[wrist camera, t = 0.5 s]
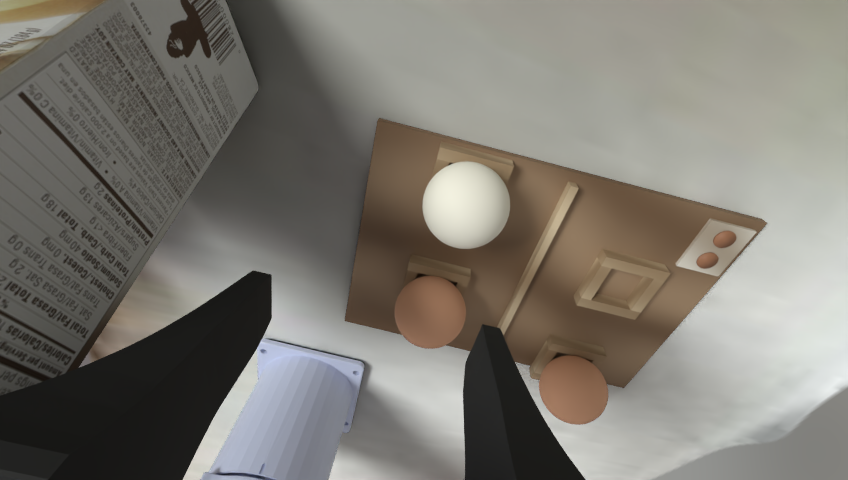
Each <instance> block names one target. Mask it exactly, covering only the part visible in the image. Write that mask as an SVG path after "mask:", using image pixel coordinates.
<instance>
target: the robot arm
mask: <svg viewBox="0 0 848 480" xmlns="http://www.w3.org/2000/svg"><path fill="white" fill-rule="evenodd" d="M271 318H272V291H271V275H270V274H266V273H261V272H257V271H252V272H250V273H249V274H247V275H246V276H244V277H243V278H241V279H240V280H238V281H237V282H236V283H234V284H233V285H231V286H230V287H228V288H227V289H225V290H224V291H222V292H221V293H219V294H218V295H217V296H215V297H213V298H212V299H210V300H209V301H207V302H206V303H204V304H203V305H201V306H200V307H198V308H197V309H195V310H193V311H192V312H190V313H188V314H187V315H185V316H183V317H182V318H180V319H178V320H177V321H175V322H173V323H172V324H170V325H168V326H166V327H165V328H163V329H161V330H159V331H157V332H156V333H154V334H152V335H150V336H148V337H146V338H144V339H142V340H140V341H138V342H136V343H134V344H132V345H130V346H128V347H126V348H124V349H122V350H119V351H117V352H115V353H113V354H110V355H108V356H106V357H104V358H101V359H99V360H97V361H94V362H92V363H90V364H87V365H85V366H83V367H80V368H77V369H75V370H72V371H70V372H67V373H65V374H62V375H59V376H57V377H54V378H51V379H48V380H46V381H43V382H40V383H37V384H34V385H31V386H28V387H26V388H23V389H19V390H16V391H13V392H10V393H7V394H4V395H0V480H183V478H184V475H185V473H186V471H187V469H188V467H189V465H190V463H191V461H192V459H193V457H194V455H195V453H196V451H197V449H198V447H199V445H200V443H201V441H202V439H203V437H204V435H205V433H206V431H207V429H208V427H209V425H210V423H211V422H212V420H213V418H214V416H215V414H216V413H217V411H218V409H219V407H220V406H221V404H222V403H223V401H224V399H225V398H226V396H227V395H228V393H229V392H230V390H231V388H232V387H233V385H234V384H235V382H236V381H237V379H238V377H239V376H240V374H241V373H242V371H243V370H244V368H245V367H246V365H247V363H248V362H249V360H250V359H251V357H252V355H253V354H254V352H255V351H256V349H257V355H258V381H257V383H256V385H255V387H254V389H253V391H252V393H251V394H250V396H249V398H248V400H247V402H246V404H245V406H244V407H243V409H242V411H241V413H240V415H239V417H238V419H237V420H236V422H235V424H234V426H233V428H232V430H231V432H230V433H229V435H228V437H227V439H226V441H225V443H224V445H223V446H222V448H221V450H220V452H219V454H218V456H217V458H216V459H215V461H214V463H213V465H212V467H211V469H210V471H209V472H205V473H204V474H203V476H202V477H201V479H200V480H328V479H329V476H330V472H331V469H332V466H333V462H334V459H335V455H336V452H337V448H338V445H339V441H340V438H341V434H342V432H343V433H348V432H349V431H350V429H351V425H352V420H353V416H354V411H355V407H356V403H357V398H358V394H359V389H360V385H361V381H362V376H363V372H364V367H365V365H364V364H363V363H362V362H360V361H357V360H353V359H349V358H344V357H340V356H336V355H332V354H327V353H323V352H319V351H315V350H311V349H306V348H302V347H298V346H294V345H289V344H285V343H281V342H277V341H273V340H268V339H262V338H263V336H264V334H265V331H266V329H267V327H268V325H269V323H270V321H271ZM463 404H464V435H465V480H585V478H584V477H583V476H582V474H581V473H580V472H579V470H578V469H577V468H576V466H575V465H574V464H573V462H572V461H571V460H570V458H569V457H568V456H567V454H566V453H565V451H564V450H563V448H562V447H561V445H560V444H559V442H558V441H557V439H556V438H555V436H554V435H553V433H552V432H551V430H550V428H549V427H548V425H547V423H546V422H545V420H544V418H543V417H542V415H541V413H540V411H539V410H538V408H537V406H536V404H535V402H534V400H533V399H532V397H531V395H530V393H529V391H528V389H527V387H526V385H525V383H524V381H523V379H522V377H521V375H520V373H519V370H518V368H517V366H516V364H515V362H514V359H513V357H512V355H511V352H510V350H509V348H508V345H507V343H506V340H505V338H504V335H503V333H502V331H501V329H500V328H497V327H493V326H489V325H484V324H482V326H481V328H480V331H479V333H478V335H477V338H476V340H475V342H474V345H473V347H472V349H471V352H470V354H469V356H468V359H467V361H466V365H465V376H464V388H463Z"/></svg>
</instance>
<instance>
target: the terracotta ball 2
mask: <svg viewBox="0 0 848 480" xmlns="http://www.w3.org/2000/svg"><path fill="white" fill-rule="evenodd" d="M539 390H540V395H541V398H542V401H543V403H544V404H545V406H546V408H547V409H548V410H549V411H550V412H551V413H552V414H553V415H554V416H555V417H557V418H558V419H560V420H562V421H564V422H567V423H570V424H586V423H589V422H591V421H593V420H595V419H596V418H598V417H599V416H600V415H601V414H602V412H603V411H604V409H605V407H606V405H607V401H608V388H607V384H606V381H605V379H604V377H603V375H602V373H601V372H600V371H599V369H598V368H597V367H596V366H595V365H594V364H592V363H591V362H589V361H588V360H586V359H584V358H581V357H578V356H572V355H566V356H561V357H558V358H555V359H553V360H552V361H551V362H549V363H548V364H547V365H546V367H545V368H544V369H543V371H542V373H541V376H540V381H539Z"/></svg>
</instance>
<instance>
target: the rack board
mask: <svg viewBox="0 0 848 480" xmlns="http://www.w3.org/2000/svg"><path fill="white" fill-rule="evenodd" d="M466 161H468V162H476V163H480V164H483V165H485V166H487V167H489V168H490V169H492V170H493V171H494V172H496V173H497V174H498V175H499V176H500V178H501V179H502V180H503V182H504V183H505V185H506V188H507V190H508V193H509V197H510V212H509V217H508V220H507V222H506V224H505V226H504V228H503V229H502V231H501V232H500V233H499V235H498V236H497V237H495V238H494V239H493V240H492V241H490V242H489V243H487V244H485V245H483V246H480V247H477V248H472V249H460V248H455V247H451V246H449V245H447V244H445V243H443V242H441V241H440V240H439V239H438V238H437V237H435V236H434V235H433V233H432V232H431V231H430V229H429V228H428V226H427V224H426V222H425V219H424V215H423V208H422V206H423V196H424V193H425V190H426V187H427V185H428V183H429V182H430V180H431V179H432V178H433V177H434V176H435V174H436V173H438V172H439V171H440V170H441V169H443V168H445V167H446V166H449V165H451V164H454V163H457V162H466ZM766 224H767V223H766V222H765V221H764V220H762V219H759V218H756V217H752V216H748V215H744V214H740V213H737V212H733V211H729V210H725V209H721V208H718V207H714V206H710V205H706V204H703V203H699V202H695V201H691V200H687V199H684V198H680V197H676V196H672V195H668V194H665V193H661V192H657V191H653V190H650V189H646V188H642V187H638V186H634V185H631V184H627V183H623V182H619V181H615V180H612V179H608V178H604V177H600V176H597V175H593V174H589V173H585V172H581V171H578V170H574V169H570V168H566V167H562V166H559V165H555V164H551V163H547V162H544V161H540V160H536V159H532V158H528V157H525V156H521V155H517V154H513V153H509V152H506V151H502V150H498V149H494V148H491V147H487V146H483V145H479V144H475V143H472V142H468V141H464V140H460V139H456V138H453V137H449V136H445V135H441V134H438V133H434V132H430V131H426V130H422V129H419V128H415V127H411V126H407V125H403V124H400V123H396V122H392V121H388V120H385V119H381V118H379V119H378V121H377V127H376V133H375V139H374V145H373V151H372V158H371V164H370V170H369V176H368V182H367V188H366V194H365V200H364V206H363V212H362V219H361V225H360V231H359V237H358V243H357V249H356V255H355V261H354V267H353V273H352V280H351V286H350V292H349V298H348V304H347V310H346V316H345V321H348V322H352V323H356V324H360V325H364V326H368V327H372V328H377V329H381V330H385V331H389V332H393V333H397V334H401V332H400V331H399V329H398V327H397V324H396V320H395V303H396V300H397V298H398V296H399V294H400V292H401V291H402V289H403V288H404V287H405V286H406V285H407V284H408V283H410V282H411V281H413V280H415V279H417V278H420V277H423V276H437V277H441V278H444V279H446V280H448V281H449V282H451V283H452V284H453V285H454V286H455V287H456V288H457V289H458V290H459V291H460V293H461V295H462V297H463V299H464V302H465V306H466V318H465V322H464V326H463V328H462V330H461V332H460V333H459V334H458V336H457V337H456V338H455V339H454V340H453V341H451V342H450V343H449V344H447V346H451V347H455V348H460V349H464V350H468V351H471V349H472V347H473V345H474V342H475V340H476V338H477V335H478V333H479V331H480V328H481V326H482V324H484V325H489V326H493V327H497V328H500V329H501V331H502V333H503V335H504V338H505V340H506V343H507V345H508V348H509V350H510V352H511V355H512V357H513V359H514V362H518V363H522V364H526V365H530V368H529V370H530V376H531V378H533V379H537V380H540V376H541V373H542V371H543V369H544V368H545V367H546V365H547V364H548V363H549V362H551V361H552V360H553V359H555V358H558V357H561V356H566V355H572V356H578V357H581V358H584V359H586V360H588V361H589V362H591V363H592V364H594V365H595V366H596V367H597V368H598V369H599V371H600V372H601V373H602V375H603V377H604V379H605V381H606V384H609V385H613V386H617V387H622V388H624V387H625V386H626V385H627V384H628V383H629V382H630V380H631V379H632V378H633V377H634V376H635V375H636V374H637V372H638V371H639V370H640V369H641V368H642V367H643V365H644V364H645V363H646V362H647V361H648V360H649V359H650V357H651V356H652V355H653V354H654V353H655V352H656V351H657V349H658V348H659V347H660V346H661V345H662V344H663V342H664V341H665V340H666V339H667V338H668V337H669V336H670V334H671V333H672V332H673V331H674V330H675V329H676V328H677V326H678V325H679V324H680V323H681V322H682V321H683V319H684V318H685V317H686V316H687V315H688V314H689V313H690V311H691V310H692V309H693V308H694V307H695V306H696V304H697V303H698V302H699V301H700V300H701V299H702V298H703V296H704V295H705V294H706V293H707V292H708V291H709V290H710V288H711V287H712V286H713V285H714V284H715V283H716V281H717V280H718V279H719V278H720V277H721V276H722V275H723V273H724V272H725V271H726V270H727V269H728V268H729V267H730V265H731V264H732V263H733V262H734V261H735V260H736V258H737V257H738V256H739V255H740V254H741V253H742V252H743V250H744V249H745V248H746V247H747V246H748V245H749V243H750V242H751V241H752V240H753V239H754V238H755V237H756V235H757V234H758V233H759V232H760V231H761V230H762V229H763V227H764V226H765V225H766Z"/></svg>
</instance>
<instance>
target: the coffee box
mask: <svg viewBox="0 0 848 480" xmlns="http://www.w3.org/2000/svg"><path fill="white" fill-rule="evenodd" d="M258 90H259V86H258V82H257V79H256V77H255V74H254V72H253V69H252V67H251V64H250V62H249V59H248V57H247V54H246V51H245V49H244V46H243V44H242V41H241V39H240V36H239V33H238V31H237V28H236V26H235V23H234V21H233V18H232V15H231V13H230V10H229V8H228V5H227V3H226V0H0V395H4V394H7V393H10V392H13V391H16V390H19V389H23V388H26V387H28V386H31V385H34V384H37V383H40V382H43V381H46V380H48V379H51V378H54V377H57V376H59V375H62V374H65V373H67V372H70V371H72V370H75V369H77V368H79V366H80V365H81V363H82V361H83V360H84V358H85V357H86V355H87V354H88V352H89V351H90V349H91V348H92V346H93V344H94V343H95V341H96V340H97V338H98V337H99V335H100V334H101V332H102V330H103V329H104V327H105V326H106V324H107V323H108V321H109V320H110V318H111V317H112V315H113V314H114V312H115V311H116V309H117V307H118V306H119V304H120V303H121V301H122V300H123V298H124V297H125V295H126V294H127V292H128V290H129V289H130V287H131V286H132V284H133V283H134V281H135V280H136V278H137V277H138V275H139V273H140V272H141V270H142V269H143V267H144V266H145V264H146V263H147V261H148V259H149V258H150V256H151V255H152V253H153V252H154V250H155V249H156V247H157V246H158V244H159V243H160V241H161V240H162V238H163V237H164V235H165V233H166V232H167V230H168V229H169V227H170V226H171V224H172V222H173V221H174V219H175V218H176V216H177V215H178V213H179V212H180V210H181V209H182V207H183V206H184V204H185V202H186V201H187V199H188V198H189V196H190V195H191V193H192V191H193V190H194V188H195V187H196V185H197V184H198V182H199V181H200V179H201V178H202V176H203V174H204V173H205V171H206V170H207V169H208V167H209V165H210V164H211V162H212V161H213V159H214V158H215V156H216V154H217V153H218V151H219V150H220V148H221V147H222V145H223V144H224V142H225V141H226V139H227V138H228V136H229V135H230V133H231V131H232V130H233V129H234V127H235V126H236V124H237V122H238V121H239V119H240V118H241V116H242V115H243V113H244V112H245V110H246V109H247V107H248V106H249V104H250V103H251V101H252V99H253V98H254V96H255V95H256V93H257V92H258Z"/></svg>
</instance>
